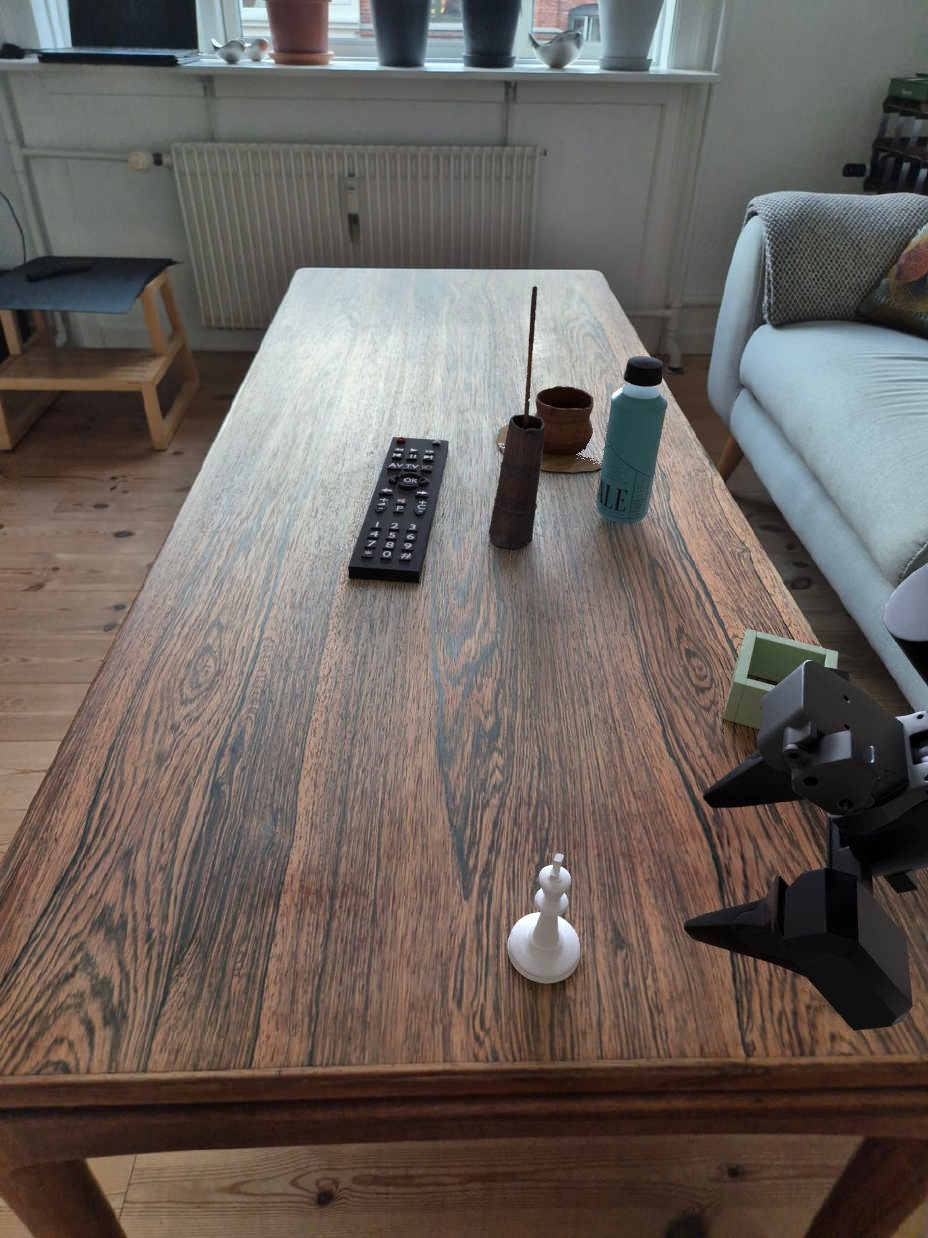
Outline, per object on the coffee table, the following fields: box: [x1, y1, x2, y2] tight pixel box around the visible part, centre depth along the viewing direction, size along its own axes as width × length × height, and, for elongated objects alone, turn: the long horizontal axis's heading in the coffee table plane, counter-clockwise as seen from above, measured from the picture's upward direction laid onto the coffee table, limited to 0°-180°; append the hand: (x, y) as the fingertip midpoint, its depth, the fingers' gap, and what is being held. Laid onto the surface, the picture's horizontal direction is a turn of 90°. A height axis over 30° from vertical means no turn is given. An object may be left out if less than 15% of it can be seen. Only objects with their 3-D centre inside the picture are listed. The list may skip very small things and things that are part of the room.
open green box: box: [722, 628, 839, 731], centre depth 76 cm, size 8×8×4 cm
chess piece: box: [507, 852, 581, 984], centre depth 54 cm, size 5×5×10 cm
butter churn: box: [488, 285, 545, 550], centre depth 89 cm, size 9×10×28 cm
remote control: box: [347, 436, 449, 584], centre depth 102 cm, size 8×32×2 cm, turn 175°
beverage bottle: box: [595, 355, 669, 524], centre depth 96 cm, size 6×7×20 cm
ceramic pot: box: [495, 385, 603, 474], centre depth 116 cm, size 18×18×7 cm
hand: (698, 861), depth 47 cm, fingers open, 9 cm apart
